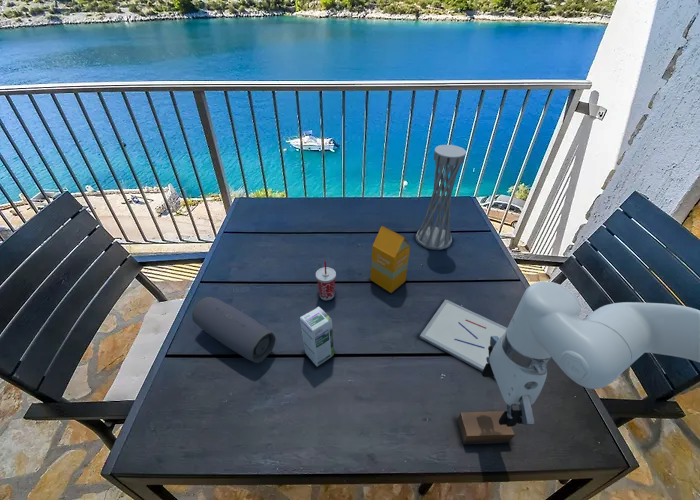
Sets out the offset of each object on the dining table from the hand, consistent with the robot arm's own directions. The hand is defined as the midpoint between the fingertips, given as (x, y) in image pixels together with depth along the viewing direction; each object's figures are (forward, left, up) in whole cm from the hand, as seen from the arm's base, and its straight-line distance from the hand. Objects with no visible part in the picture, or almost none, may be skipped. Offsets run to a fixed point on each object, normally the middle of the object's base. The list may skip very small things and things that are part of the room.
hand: (497, 397), depth 68 cm
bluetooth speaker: (+63, +16, -14) cm, 66 cm away
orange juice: (+42, -29, -14) cm, 52 cm away
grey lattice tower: (+40, -59, -14) cm, 72 cm away
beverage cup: (+54, -12, -14) cm, 57 cm away
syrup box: (+42, +6, -14) cm, 44 cm away
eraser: (0, 0, -14) cm, 14 cm away
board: (+12, -23, -14) cm, 29 cm away
